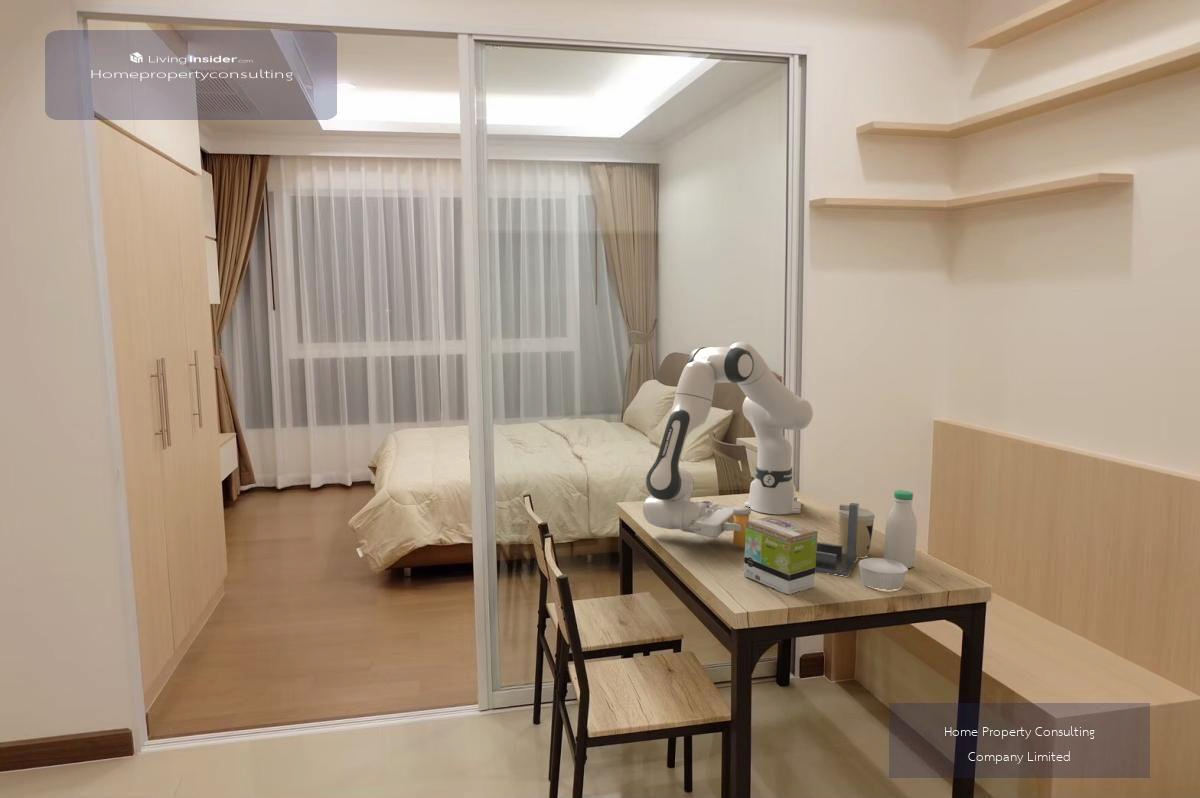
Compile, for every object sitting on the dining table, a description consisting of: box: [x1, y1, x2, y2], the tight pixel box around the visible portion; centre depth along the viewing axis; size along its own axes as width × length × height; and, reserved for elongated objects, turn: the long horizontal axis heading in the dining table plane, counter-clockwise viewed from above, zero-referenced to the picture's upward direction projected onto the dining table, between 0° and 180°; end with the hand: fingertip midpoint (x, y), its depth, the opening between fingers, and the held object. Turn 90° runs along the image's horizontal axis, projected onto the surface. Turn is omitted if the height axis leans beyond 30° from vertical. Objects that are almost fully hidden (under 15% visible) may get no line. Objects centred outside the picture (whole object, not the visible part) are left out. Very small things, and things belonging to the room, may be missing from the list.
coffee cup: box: [838, 507, 875, 558], centre depth 214 cm, size 9×9×12 cm
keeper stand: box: [815, 502, 860, 577], centre depth 204 cm, size 15×12×17 cm
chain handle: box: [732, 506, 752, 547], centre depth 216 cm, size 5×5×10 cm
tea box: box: [743, 515, 819, 595], centre depth 191 cm, size 15×10×15 cm
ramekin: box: [858, 557, 909, 590], centre depth 191 cm, size 11×11×5 cm
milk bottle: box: [883, 490, 918, 569], centre depth 205 cm, size 8×8×20 cm
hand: (744, 525), depth 215 cm, fingers closed on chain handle, 4 cm apart
